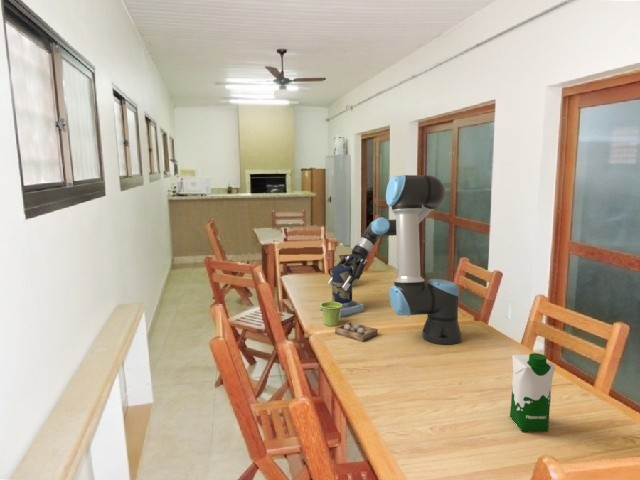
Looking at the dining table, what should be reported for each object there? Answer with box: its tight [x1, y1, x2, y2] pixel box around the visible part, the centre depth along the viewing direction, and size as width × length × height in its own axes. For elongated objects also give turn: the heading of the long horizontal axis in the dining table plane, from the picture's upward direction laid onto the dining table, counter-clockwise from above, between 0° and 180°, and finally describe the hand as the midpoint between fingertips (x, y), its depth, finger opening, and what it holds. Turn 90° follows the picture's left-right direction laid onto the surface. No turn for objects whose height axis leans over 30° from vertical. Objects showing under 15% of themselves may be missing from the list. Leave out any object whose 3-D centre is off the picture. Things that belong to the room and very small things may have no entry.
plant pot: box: [321, 301, 342, 327], centre depth 199 cm, size 9×9×9 cm
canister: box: [331, 264, 353, 303], centre depth 215 cm, size 10×10×18 cm
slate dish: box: [320, 299, 365, 319], centre depth 217 cm, size 15×15×4 cm
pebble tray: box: [334, 321, 379, 343], centre depth 187 cm, size 14×10×4 cm
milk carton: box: [509, 352, 556, 432], centre depth 120 cm, size 9×9×20 cm
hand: (337, 286), depth 214 cm, fingers closed on canister, 9 cm apart
